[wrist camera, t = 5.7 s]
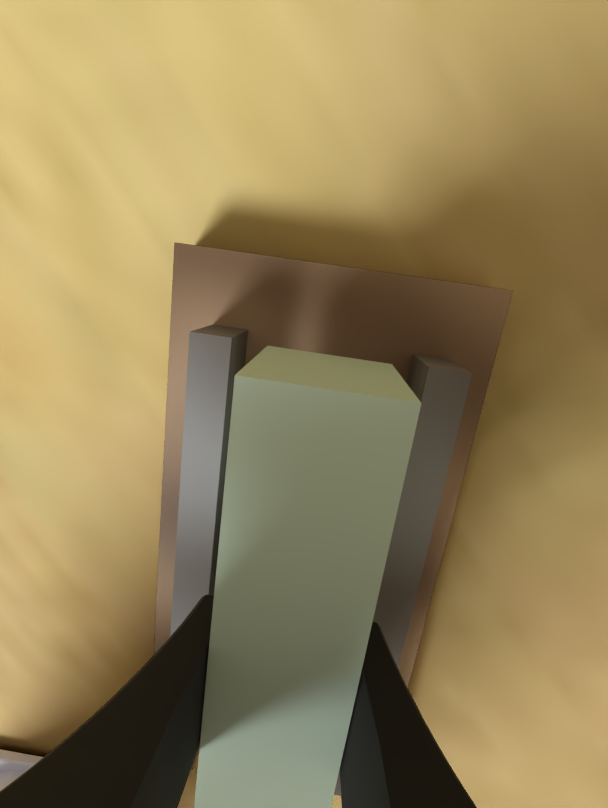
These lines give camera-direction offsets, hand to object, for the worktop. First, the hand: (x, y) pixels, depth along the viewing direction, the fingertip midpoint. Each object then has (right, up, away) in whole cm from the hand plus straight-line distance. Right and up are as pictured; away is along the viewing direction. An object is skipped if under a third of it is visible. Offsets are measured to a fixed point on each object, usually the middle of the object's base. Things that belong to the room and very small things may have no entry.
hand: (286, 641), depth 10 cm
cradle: (0, +1, +5) cm, 5 cm away
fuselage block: (0, 0, +2) cm, 2 cm away
